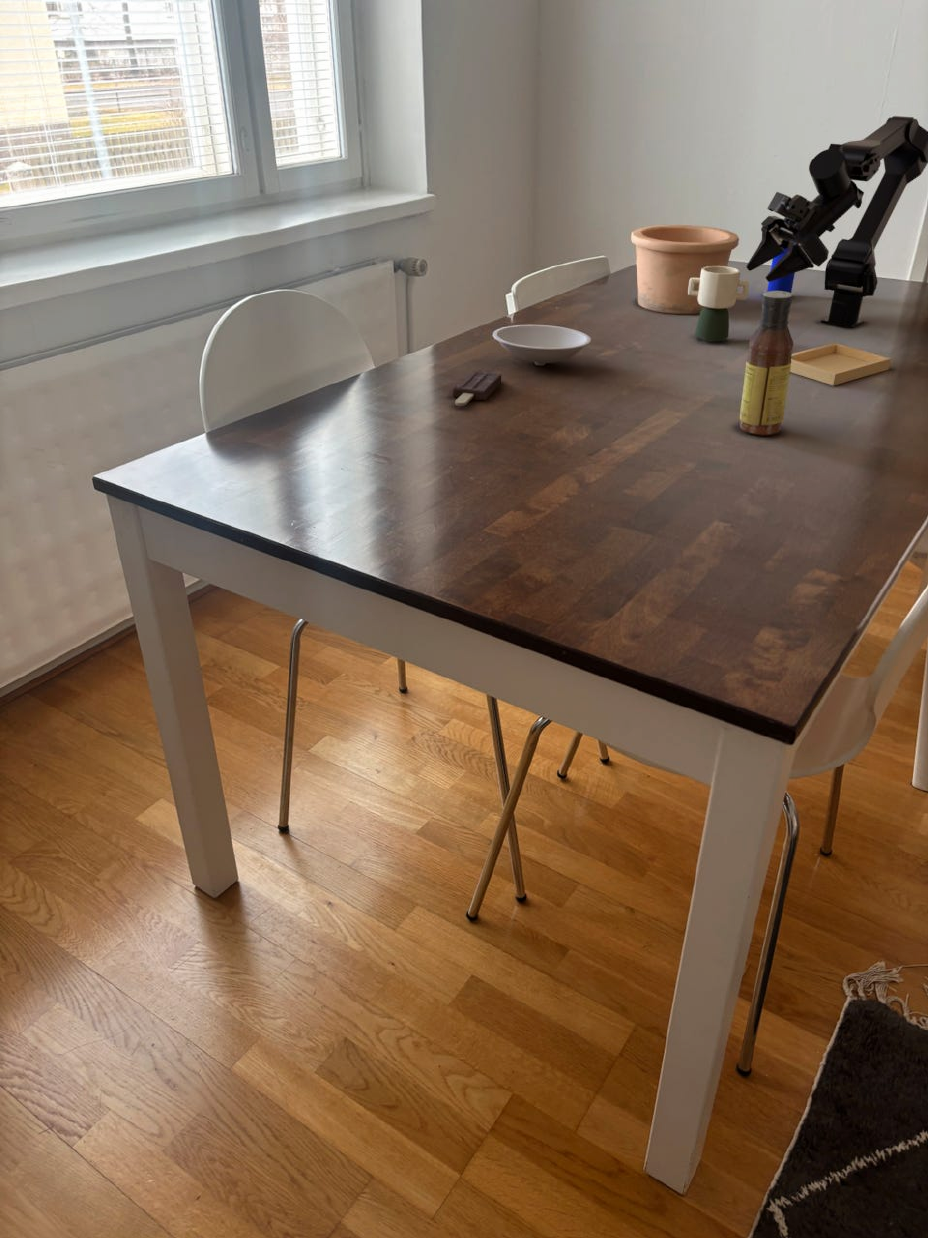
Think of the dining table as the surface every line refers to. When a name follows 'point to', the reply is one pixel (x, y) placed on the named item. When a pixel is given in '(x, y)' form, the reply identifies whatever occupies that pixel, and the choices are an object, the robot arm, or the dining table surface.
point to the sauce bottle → (768, 367)
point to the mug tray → (837, 363)
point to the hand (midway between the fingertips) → (757, 274)
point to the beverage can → (783, 282)
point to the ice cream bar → (476, 386)
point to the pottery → (677, 263)
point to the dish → (541, 342)
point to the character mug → (716, 300)
